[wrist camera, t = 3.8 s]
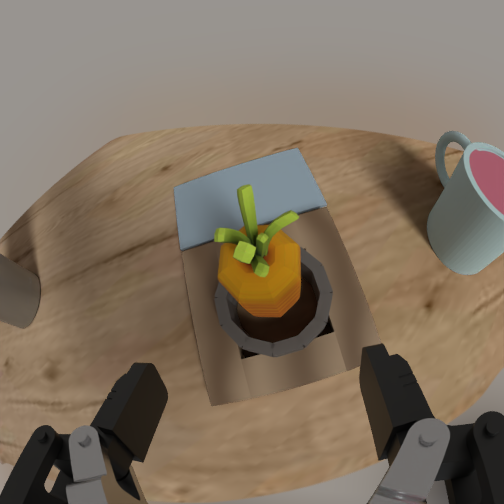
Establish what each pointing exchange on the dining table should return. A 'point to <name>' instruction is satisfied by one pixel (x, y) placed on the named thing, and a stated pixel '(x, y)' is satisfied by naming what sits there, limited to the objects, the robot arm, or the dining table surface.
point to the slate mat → (226, 202)
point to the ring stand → (289, 350)
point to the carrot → (260, 261)
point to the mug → (468, 207)
